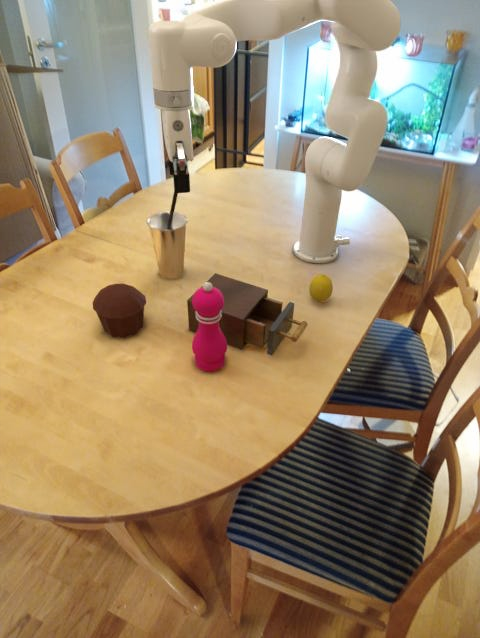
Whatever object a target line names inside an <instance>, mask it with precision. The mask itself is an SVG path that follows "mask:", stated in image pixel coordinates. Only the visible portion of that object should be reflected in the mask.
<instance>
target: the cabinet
mask: <svg viewBox="0 0 480 638" xmlns="http://www.w3.org/2000/svg"><path fill="white" fill-rule="evenodd" d="M206 282H210V283H211V284H212V287H215V288H217V289H218V290H220V291H221V293H222V294H223V297H224V306H223V308H222V309H221V311H222V312H221V314H222V316H221V319H220V320H219V327H220V329H221V331H222V332H223V334H224V336H225V338H226V341H227V346H230V347H232V348H235V349H238V350H241V351H243V350H244V348H246V346H247V345H248V344H247V343H245V342H244V326H245V319H246V318H247V317H248V316H249V315H250V313H251V312H252V311H253V310H254V309H255V307H256V306H257V305H258V304H259V303H260V301H261V300H262V299H263V298H264V297H268V298H269V296H268V295H269V289H267V288H264V287H260V286H257V285H255V284H251V283H248V282H244V281H242V280H239V279H235V278H232V277H228V276H225V275H223V274H219V273H214V274H213V275H212V276H211V277H210V278H209V279H207V281H206ZM201 287H203V285H201ZM201 287H199V288H201ZM193 295H194V293H193V294H192V295H191V296H190V297H188V298H187V300H186V303H187V305H186V306H187V318H188V319H187V320H188V321H187V322H188V331H189V332H192V333H195V334H196V332H197V330H198V327H199V321H198V320H197V319H196V313H195V312H196V310H195V309H194V307H193V304H192V299H193Z"/></svg>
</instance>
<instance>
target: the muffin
mask: <svg viewBox="0 0 480 638" xmlns="http://www.w3.org/2000/svg"><path fill="white" fill-rule="evenodd" d="M146 305H147V299H146V295H145V294H144V293H143V292H141V291H140V290H138V289H137V288H136V287H135V286H133V285H129V284H127V283H113V284H108V285H106V286H105V287H103V288H101V289H100V290H99V291H98V292H97V294H96V295H95V297H94V299H93V301H92V310H93V311H94V312H95V313H96V315H97V317H98V319H99V322H100V324H101V326H102V328H103V331H104V332H105V333H106V334H108V335H109V336H111V338H121V339H126V338H128V337H130V336H135V335H137V334H138V333H139V332H140V331H141V330H142V329H143V328H144V318H145V317H144V316H145V306H146Z"/></svg>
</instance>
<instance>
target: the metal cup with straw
mask: <svg viewBox="0 0 480 638" xmlns="http://www.w3.org/2000/svg"><path fill="white" fill-rule="evenodd" d="M178 194H179V193H175V191H173V195H172V200H171V205H170V210H164V211H158V212H155V213H153V214H151V215H150V216H148V217H147V218H146V220H145V221H146V225H147V226H148V228H149V232H150V237H151V241H152V246H153V250H154V254H155V258H156V262H157V268H158V273H159V276H160V277H161V278H163V279H166V280H176V279H179V278H181V277H182V276H183V275H184V273H185V252H186V231H187V230H186V229H187V224H188V222H189V219H188V217H187V215H185V214H184V213H182V212H179V211H175V209H176V205H177V204H176V203H177V199H178Z"/></svg>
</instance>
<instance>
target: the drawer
mask: <svg viewBox="0 0 480 638" xmlns="http://www.w3.org/2000/svg"><path fill="white" fill-rule="evenodd" d="M283 305H284V304H283V301H280V300H277V299H273V298H271V297H269V296H268V297H264V298H263V299H262V300H261V301H260V303H259V304H258V305H257V306H256V307H255V309H254V310H253V311H252V312H251V313H250V315H249V316H248V317H247V318H246V319H245V326H244V342H245V343H247V345H250V346H253V347H256V348H259V349H261V350H263V349H264V348H265V346H267V347H266V355H268V356H271V357H272V356H273V355H274V353H275V352H276V350H277V349H278V347H279V346H280V345H281V343H282V342H283V340H284V339H285V338H287V339H290V341H291V342H293V343H297V342H298V341H299V339H300V338H301V336H302V335H303V333H304V332H305V330H306V328H307V327H308V325H309V324H308V322H307V321H305V320H302V321H300V320H297V319H294V311H295V303H294V302H293V301H288V303H287V304H286V305H285V307H284V308H283ZM293 324H295V325H298V327H297V328H296V330H294V333H293V334H290V333H289V332H290V330H292V327H293Z"/></svg>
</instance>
